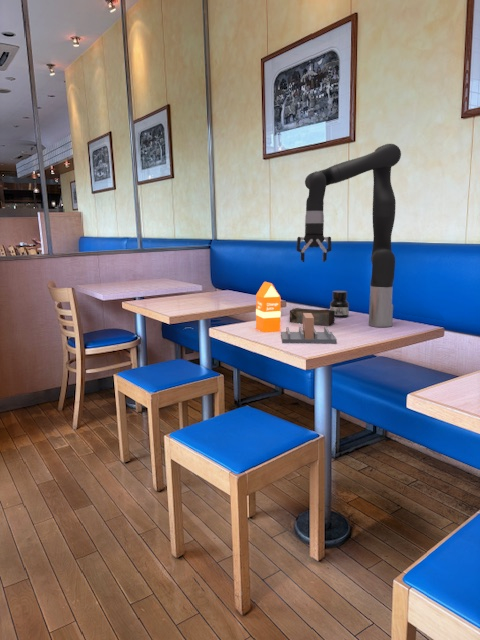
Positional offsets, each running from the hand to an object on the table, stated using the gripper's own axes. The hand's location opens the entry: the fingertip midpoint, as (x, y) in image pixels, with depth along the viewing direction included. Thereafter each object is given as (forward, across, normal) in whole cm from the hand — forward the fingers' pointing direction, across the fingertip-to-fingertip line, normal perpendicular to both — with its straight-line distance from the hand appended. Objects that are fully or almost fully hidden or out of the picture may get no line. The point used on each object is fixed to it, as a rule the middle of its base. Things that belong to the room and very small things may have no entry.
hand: (313, 261), depth 201 cm
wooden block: (+27, +4, +23) cm, 35 cm away
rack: (+28, +4, +22) cm, 36 cm away
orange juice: (+28, +19, +5) cm, 34 cm away
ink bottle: (+28, -16, -27) cm, 42 cm away
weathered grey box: (+29, -1, -10) cm, 30 cm away
